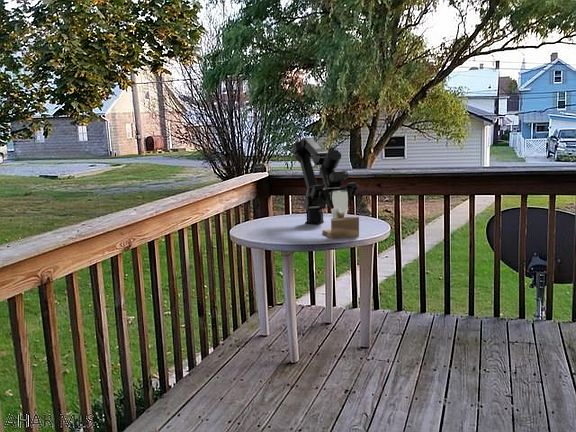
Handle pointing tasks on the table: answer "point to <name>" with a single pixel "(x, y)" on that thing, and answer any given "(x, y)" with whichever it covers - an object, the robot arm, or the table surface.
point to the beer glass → (339, 203)
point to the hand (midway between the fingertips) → (340, 207)
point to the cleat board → (343, 228)
